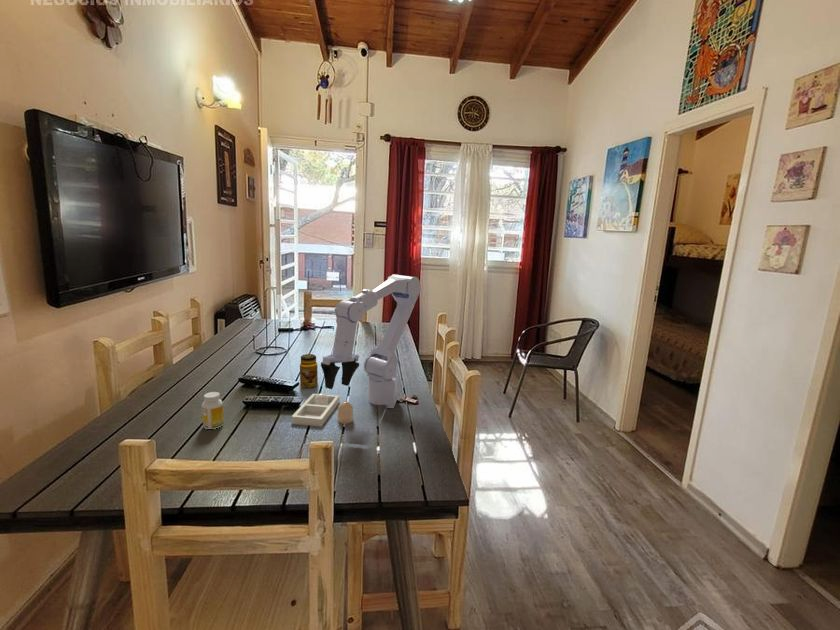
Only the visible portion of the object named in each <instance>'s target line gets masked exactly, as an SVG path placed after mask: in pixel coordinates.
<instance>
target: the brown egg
mask: <svg viewBox="0 0 840 630" xmlns="http://www.w3.org/2000/svg"><path fill="white" fill-rule="evenodd" d="M353 415H354V407H353V405H352V403H351V402H349V401H342V402H341V403H340V402H339V404H338V405H337V423H339V424H341V425H342V424H343V425H345V424H347V425H348V424H350V423H352V422H353V421H354V416H353Z"/></svg>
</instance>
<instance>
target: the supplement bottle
mask: <svg viewBox="0 0 840 630" xmlns="http://www.w3.org/2000/svg"><path fill="white" fill-rule="evenodd" d="M203 400H204V401H203V402H202V403H201V415H202V417H201V418H202V427H204V428H205V430H206V429H214V430H217V429H216V428H218V429H220V428H222V427H223V426H224V424H225V419H224V403H223V400H222V399H221V394H220V392H219V391H218V392H217V391H210V392H207V393H205V394H204V395H203ZM221 426H222V427H221ZM219 427H220V428H219ZM204 428H203V429H204Z"/></svg>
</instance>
